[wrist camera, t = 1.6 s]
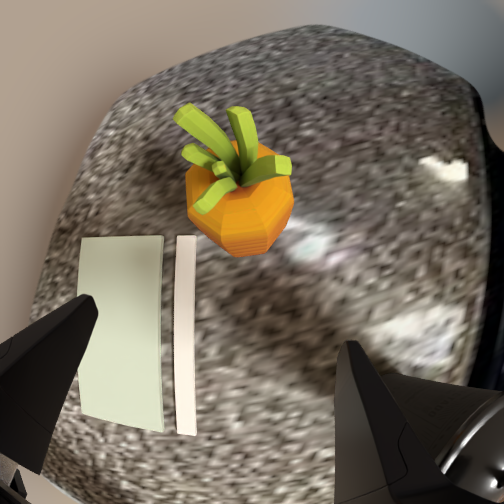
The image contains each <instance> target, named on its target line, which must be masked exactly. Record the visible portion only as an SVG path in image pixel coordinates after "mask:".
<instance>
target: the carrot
mask: <svg viewBox="0 0 504 504" xmlns="http://www.w3.org/2000/svg"><path fill="white" fill-rule="evenodd" d="M226 112H227V115H228V118H229V121H230V124H231V127H232V130H233V132H234V135H235V138H236V140H235V141H230V140H229V138H228V137H227V135H226V134H225V132H224V131H223V130H222V129H221V128H220V127H219V126H218V125H217V124H216V123H215V122H214V121H213V120H212V119H211V118H210V117H208V116H207V115H206V114H204V113H203V112H202V111H200V110H199V109H198V108H197V107H195V106H194V105H193V104H191V103H188V104H186V105H184V106H182V107H181V108H179V110H178V111H177V112H176V114H175V115H174V117H173V120H174V121H175V122H176V123H177V124H178V125H180V126H181V127H182V128H184V129H185V130H186V131H188V132H189V133H190V134H191V135H193V136H194V137H195V138H197V139H198V140H200V141H201V142H202V143H204V144H205V145H207V146H208V147H209V148H208V149H207V150H205V149H203V148H201V147H200V146H198V145H196V144H194V143H191V144H188V145H185V147H184V148H183V150H182V151H181V154H182V156H183V157H184V158H185V159H186V160H188V161H190V162H192V163H194V164H193V165H192V166H191V168H190V169H189V170H188V171H187V172H186V174H185V178H186V197H187V213H188V217H189V219H190V220H191V221H192V222H193V223H194V224H195V225H196V226H197V227H198V228H199V230H201V231H202V232H203V233H204V234H205V235H206V236H207V237H208V238H210V239H211V240H212V241H214V242H215V243H216V244H218V245H219V246H220V247H221V248H223V249H224V250H225V251H227V252H228V253H229V254H231V255H232V256H233V257H244V256H251V255H258V254H264V253H266V252H267V250H268V249H269V248H270V246H271V245H272V244H273V243H274V241H275V240H276V239H277V237H278V236H279V235H280V233H281V232H282V231H283V229H284V228H285V227H286V224H287V222H288V220H289V217H290V214H291V211H292V208H293V205H294V198H293V193H292V188H291V183H290V178H289V175H291V170H292V165H291V161H290V158H289V157H286V156H283V155H278V154H277V153H275V152H274V151H272V150H270V149H269V148H267V147H265V146H264V145H262V144H260V143H259V142H258V138H257V133H256V128H255V124H254V121H253V118H252V115H251V112H250V111H249V110H248V109H246V108H245V107H238V106H233V107H230V108H228V109H226Z"/></svg>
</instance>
